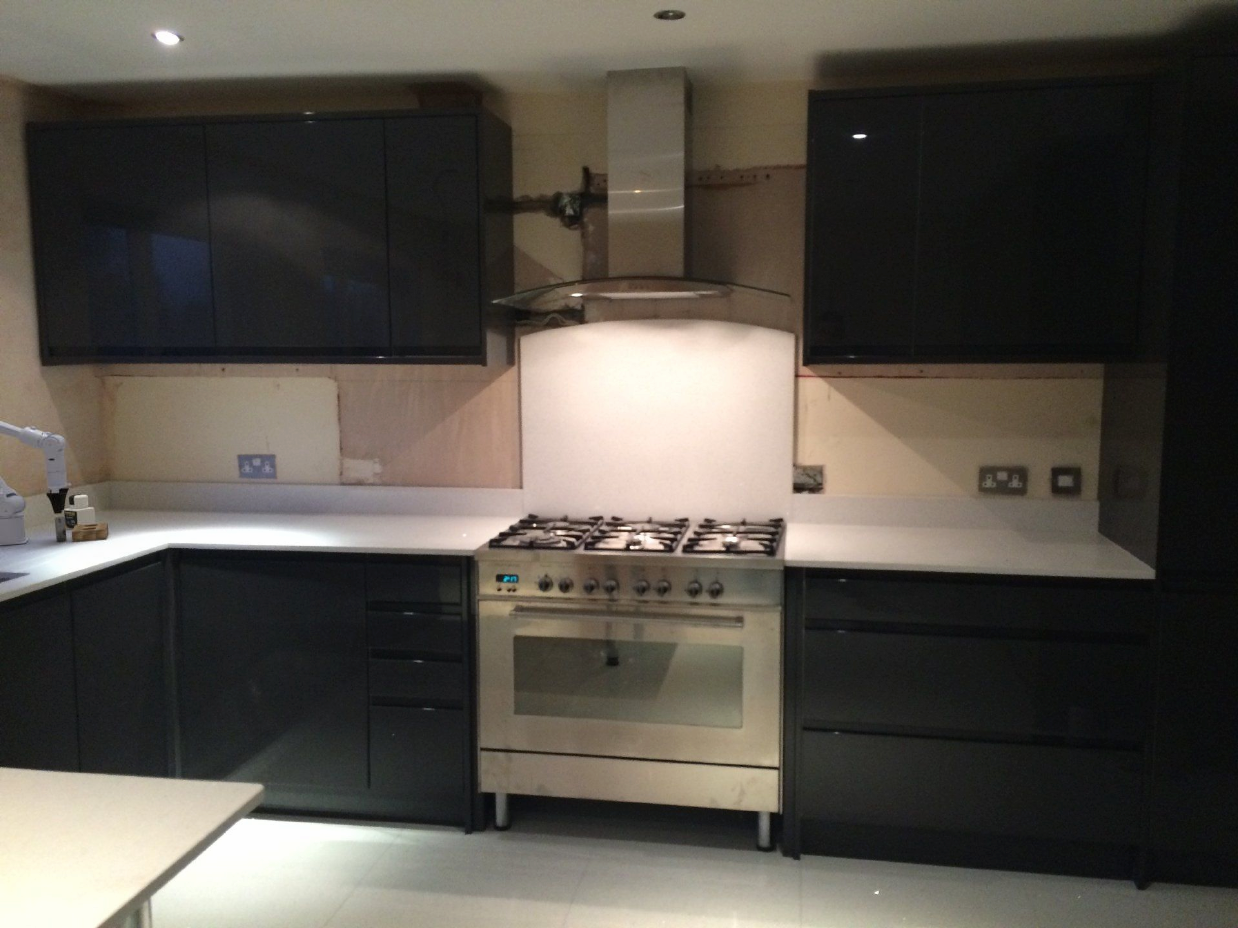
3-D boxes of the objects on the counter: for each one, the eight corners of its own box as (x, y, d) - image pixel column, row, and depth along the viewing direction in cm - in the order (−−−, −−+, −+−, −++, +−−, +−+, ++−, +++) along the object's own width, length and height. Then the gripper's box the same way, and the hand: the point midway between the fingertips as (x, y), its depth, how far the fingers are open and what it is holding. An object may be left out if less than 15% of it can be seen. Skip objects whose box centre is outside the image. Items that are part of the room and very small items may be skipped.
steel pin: (56, 542, 334) (54, 518, 333) (57, 540, 337) (55, 517, 336) (66, 541, 335) (64, 517, 334) (67, 539, 338) (65, 516, 337)
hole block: (72, 542, 334) (71, 531, 333) (76, 535, 347) (75, 525, 346) (105, 539, 338) (105, 529, 337) (108, 532, 350) (107, 522, 350)
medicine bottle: (65, 528, 360) (62, 495, 358) (83, 525, 366) (81, 492, 364) (77, 530, 356) (75, 496, 355) (96, 526, 363) (93, 494, 361)
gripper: (67, 473, 328) (70, 514, 330) (71, 468, 342) (74, 507, 343) (42, 474, 326) (46, 515, 327) (48, 469, 339) (51, 509, 340)
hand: (59, 511), depth 335 cm, fingers open, 7 cm apart
